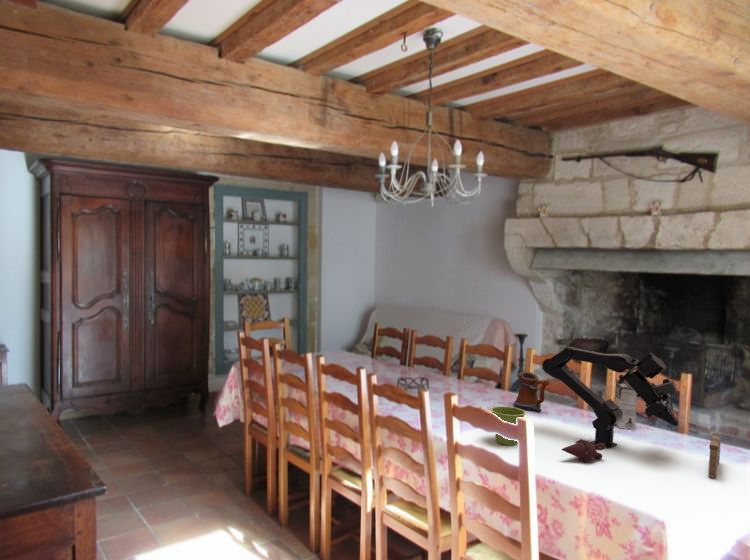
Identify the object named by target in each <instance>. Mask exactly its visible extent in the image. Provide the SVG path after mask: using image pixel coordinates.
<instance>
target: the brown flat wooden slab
mask: <svg viewBox="0 0 750 560" xmlns="http://www.w3.org/2000/svg"><path fill="white" fill-rule="evenodd" d="M715 433H716V432H712V434H711V438H710V442H709V461H708V477H711V478H717V477H716V476H717V471H718V465H719V464H718V456H719V442H720V433H718V434H715Z"/></svg>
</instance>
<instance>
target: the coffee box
mask: <svg viewBox="0 0 750 560" xmlns="http://www.w3.org/2000/svg"><path fill="white" fill-rule="evenodd" d="M614 393H615V397H614V403H615V404H616V405H618V406H620V407H619V408H620V409H621V411H622V414H623V418H622V420H621V421H620V422H618V423H617V425H616V426H617V428H618V429H621V428H624V430H625V429H626V430H633V429H635V430H636V419H637V404H638V402H637V401H638V397H637V396H636V395H637V393H636V392H635V391H634V390H633V389H632V388H631V387H630V386H629V385H628V383H627V382H623V383H621V384H619V382H615V392H614ZM628 428H630V429H628Z"/></svg>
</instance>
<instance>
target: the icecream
mask: <svg viewBox="0 0 750 560" xmlns="http://www.w3.org/2000/svg"><path fill="white" fill-rule="evenodd" d="M605 449H607V448H606V445H605V444H604V443H597V444H592V443H591V441H589V440H586V439H582V438H580V439H579V440H576V441H575V443H573V444H572V445H568V446H565V447H563V448H561V450H562V451H563V452H565V453H568V454H570V455H571V456H574V457H576V458H578V460H579V461H580V462H582V461H583V463H585V462H587V461H592V460H593V459H595V460H600V459H603V454H602V453H601V452H598V451H603V450H605Z"/></svg>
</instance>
